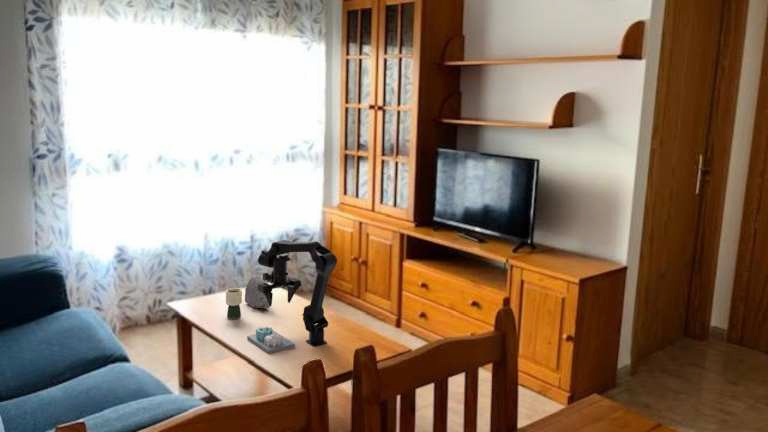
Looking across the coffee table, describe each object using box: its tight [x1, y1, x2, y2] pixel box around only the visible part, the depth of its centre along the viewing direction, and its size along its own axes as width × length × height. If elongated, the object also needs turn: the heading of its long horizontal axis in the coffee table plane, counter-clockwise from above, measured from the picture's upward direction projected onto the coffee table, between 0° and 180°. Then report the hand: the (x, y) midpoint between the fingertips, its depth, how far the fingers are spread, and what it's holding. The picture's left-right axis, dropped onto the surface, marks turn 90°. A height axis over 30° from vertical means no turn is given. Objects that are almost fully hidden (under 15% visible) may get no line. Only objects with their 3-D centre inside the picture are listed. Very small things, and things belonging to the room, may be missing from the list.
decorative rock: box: [244, 275, 270, 309], centre depth 310 cm, size 16×7×15 cm, turn 39°
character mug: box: [225, 287, 243, 319], centre depth 294 cm, size 11×7×13 cm, turn 36°
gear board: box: [246, 326, 296, 355], centre depth 268 cm, size 18×12×6 cm, turn 40°
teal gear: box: [255, 326, 274, 341], centre depth 270 cm, size 7×7×4 cm
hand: (279, 304), depth 280 cm, fingers open, 9 cm apart
